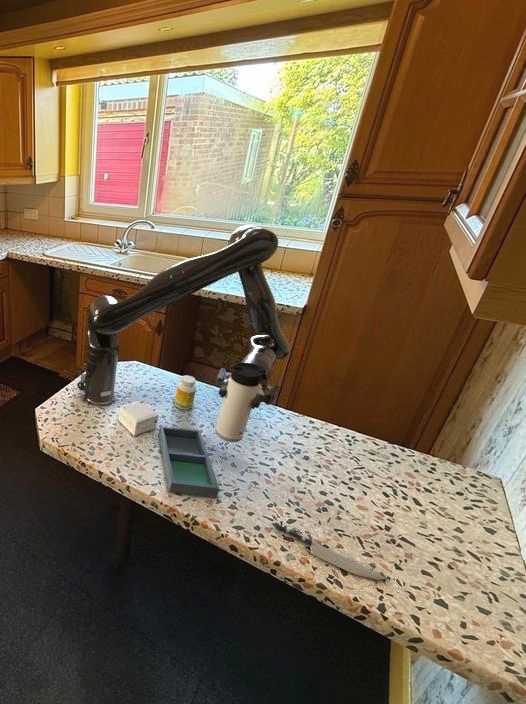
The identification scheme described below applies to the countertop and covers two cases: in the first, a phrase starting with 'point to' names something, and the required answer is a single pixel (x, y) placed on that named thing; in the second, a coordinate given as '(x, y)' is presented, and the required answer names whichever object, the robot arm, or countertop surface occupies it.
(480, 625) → the countertop surface
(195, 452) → the tray
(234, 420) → the travel mug
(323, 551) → the chef's knife
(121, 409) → the small box
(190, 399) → the supplement bottle
